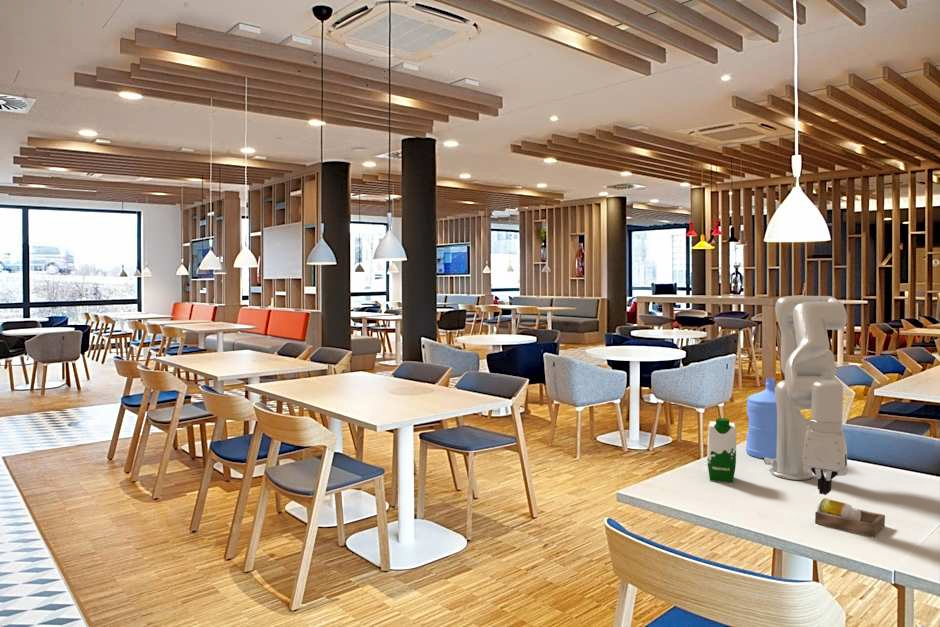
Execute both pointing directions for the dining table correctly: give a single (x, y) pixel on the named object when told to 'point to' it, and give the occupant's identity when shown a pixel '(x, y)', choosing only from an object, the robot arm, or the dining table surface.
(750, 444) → the water jug
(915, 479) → the dining table surface
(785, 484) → the dining table surface
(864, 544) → the dining table surface
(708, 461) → the milk carton
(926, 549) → the dining table surface
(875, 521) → the u rest
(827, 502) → the supplement bottle
